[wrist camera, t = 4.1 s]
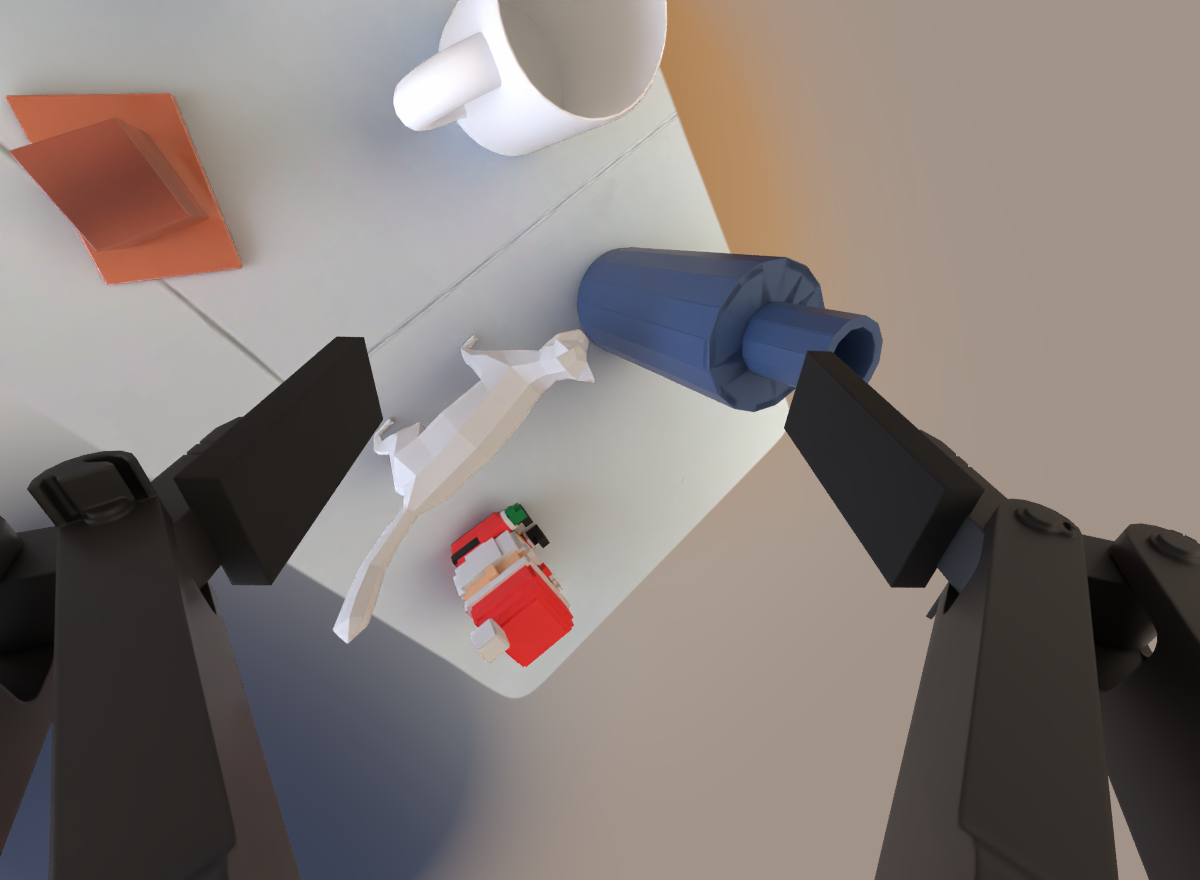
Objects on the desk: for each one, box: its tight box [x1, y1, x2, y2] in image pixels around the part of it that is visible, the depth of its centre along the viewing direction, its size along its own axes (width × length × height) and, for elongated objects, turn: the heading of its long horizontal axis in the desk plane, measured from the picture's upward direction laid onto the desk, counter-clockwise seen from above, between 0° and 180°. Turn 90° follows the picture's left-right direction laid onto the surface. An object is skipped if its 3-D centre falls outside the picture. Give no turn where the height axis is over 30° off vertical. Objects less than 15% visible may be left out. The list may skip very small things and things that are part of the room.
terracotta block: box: [9, 117, 209, 251], centre depth 22 cm, size 4×4×4 cm
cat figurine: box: [333, 329, 595, 644], centre depth 29 cm, size 4×20×14 cm, turn 130°
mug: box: [393, 0, 667, 156], centre depth 24 cm, size 8×12×12 cm
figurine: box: [451, 503, 574, 667], centre depth 37 cm, size 8×7×12 cm
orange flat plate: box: [6, 93, 244, 285], centre depth 24 cm, size 8×6×1 cm
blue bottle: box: [577, 247, 882, 412], centre depth 30 cm, size 8×8×21 cm
